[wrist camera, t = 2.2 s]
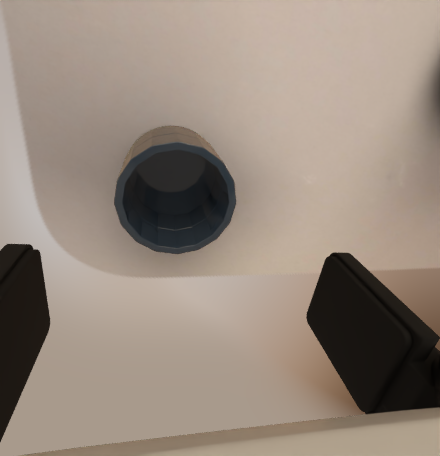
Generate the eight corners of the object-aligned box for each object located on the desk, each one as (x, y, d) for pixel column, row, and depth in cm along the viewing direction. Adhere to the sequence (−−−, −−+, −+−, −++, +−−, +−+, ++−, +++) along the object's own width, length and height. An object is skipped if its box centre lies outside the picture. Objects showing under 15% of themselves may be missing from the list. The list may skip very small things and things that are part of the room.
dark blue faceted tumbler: (106, 185, 19) (91, 219, 15) (158, 103, 18) (159, 114, 13) (184, 230, 22) (191, 270, 17) (236, 162, 20) (258, 188, 16)
